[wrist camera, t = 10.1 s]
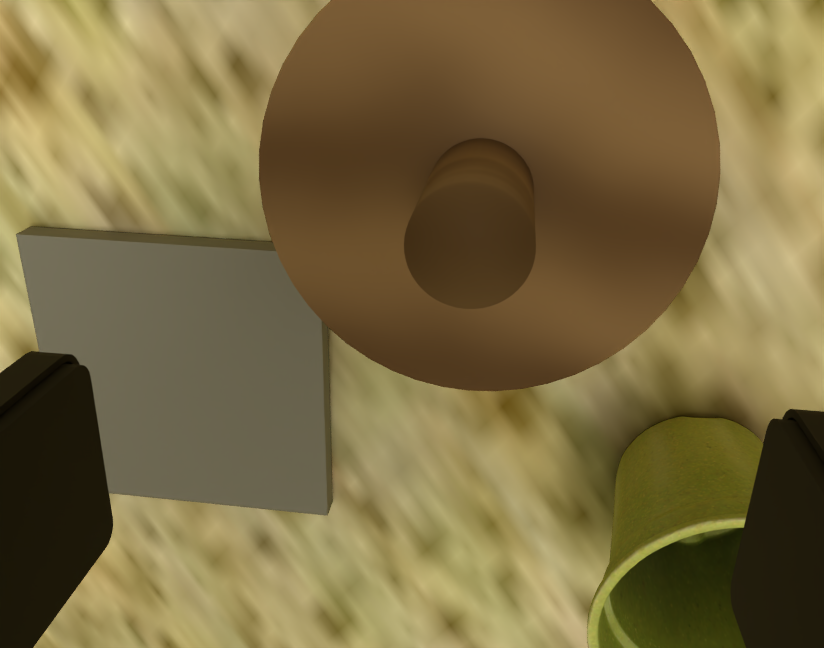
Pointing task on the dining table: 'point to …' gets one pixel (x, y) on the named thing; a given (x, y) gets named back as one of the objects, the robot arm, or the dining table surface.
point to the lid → (489, 181)
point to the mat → (190, 363)
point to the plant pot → (676, 537)
